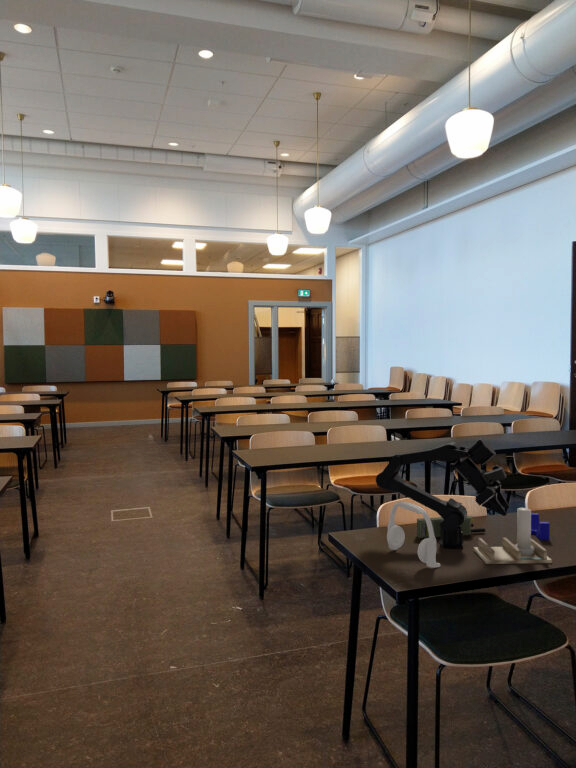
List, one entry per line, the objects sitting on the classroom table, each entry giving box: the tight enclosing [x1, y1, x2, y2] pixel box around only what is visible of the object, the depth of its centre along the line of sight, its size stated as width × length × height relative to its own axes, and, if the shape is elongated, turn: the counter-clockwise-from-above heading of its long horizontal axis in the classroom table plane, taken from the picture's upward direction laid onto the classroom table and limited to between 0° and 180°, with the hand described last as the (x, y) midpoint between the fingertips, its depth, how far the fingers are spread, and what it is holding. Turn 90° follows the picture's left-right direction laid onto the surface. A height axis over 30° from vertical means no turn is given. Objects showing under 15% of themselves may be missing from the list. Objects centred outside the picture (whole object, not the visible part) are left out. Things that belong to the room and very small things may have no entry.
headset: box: [386, 501, 441, 569], centre depth 176 cm, size 20×7×18 cm, turn 28°
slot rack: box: [473, 537, 553, 565], centre depth 178 cm, size 20×12×4 cm, turn 90°
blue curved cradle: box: [531, 512, 550, 541], centre depth 198 cm, size 12×4×6 cm, turn 174°
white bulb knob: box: [514, 507, 534, 556], centre depth 177 cm, size 6×6×14 cm
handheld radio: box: [416, 515, 486, 539], centre depth 199 cm, size 7×3×25 cm
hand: (507, 511), depth 180 cm, fingers open, 9 cm apart
